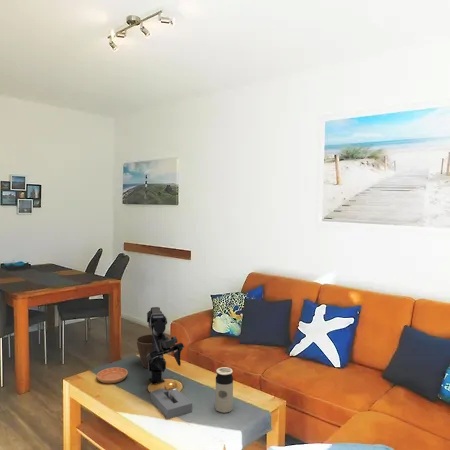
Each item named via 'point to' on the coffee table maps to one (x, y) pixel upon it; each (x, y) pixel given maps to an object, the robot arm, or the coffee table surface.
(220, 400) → the travel mug
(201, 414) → the coffee table surface
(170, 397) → the lever handle
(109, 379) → the saucer
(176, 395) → the block
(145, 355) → the plant pot
